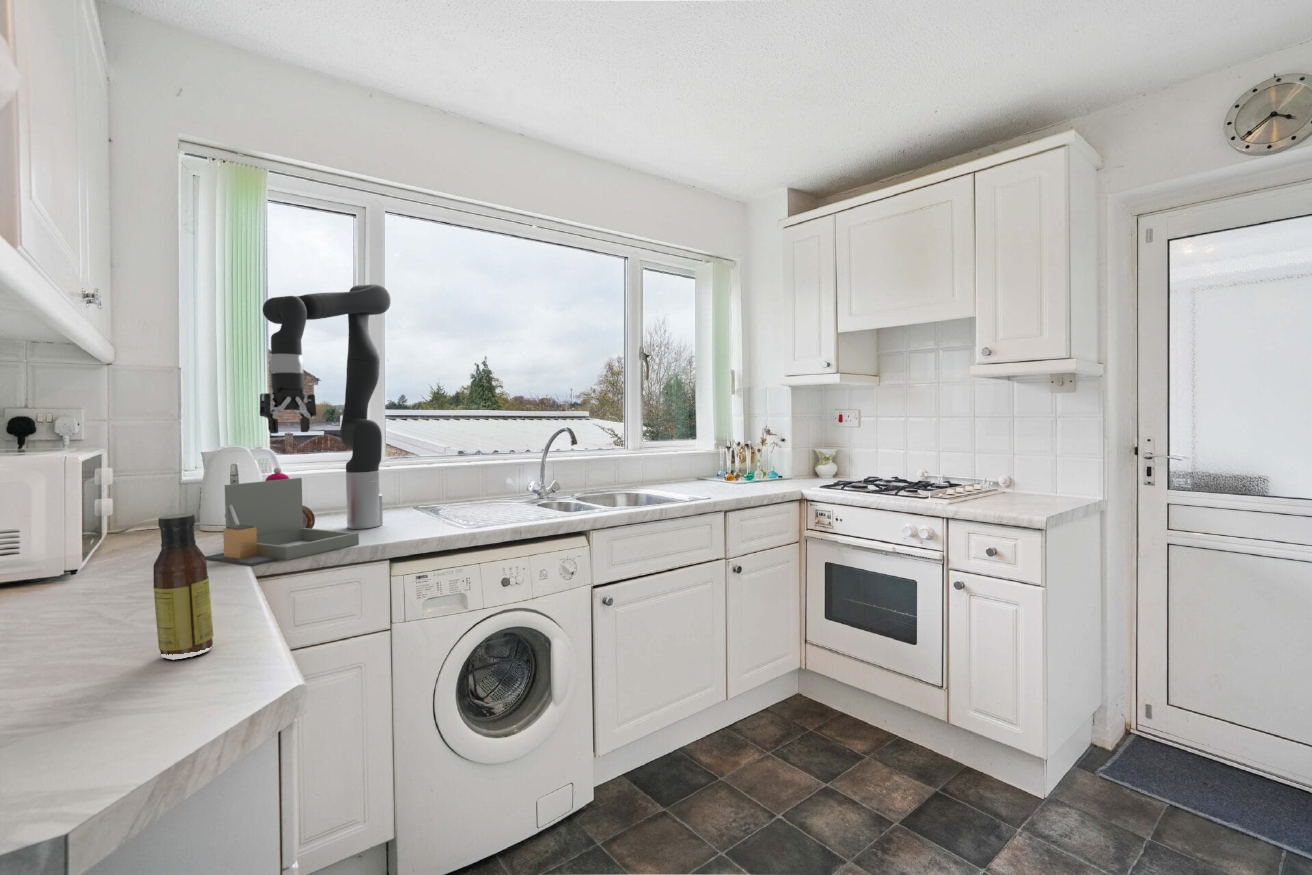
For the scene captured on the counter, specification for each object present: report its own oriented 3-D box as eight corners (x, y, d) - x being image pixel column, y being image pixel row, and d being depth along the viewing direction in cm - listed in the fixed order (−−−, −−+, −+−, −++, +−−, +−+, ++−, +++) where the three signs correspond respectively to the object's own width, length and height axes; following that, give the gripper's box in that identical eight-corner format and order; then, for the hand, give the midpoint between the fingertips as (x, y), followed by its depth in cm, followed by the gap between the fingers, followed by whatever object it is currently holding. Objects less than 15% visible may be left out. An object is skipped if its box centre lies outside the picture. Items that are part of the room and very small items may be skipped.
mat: (230, 553, 155) (230, 551, 155) (277, 560, 147) (277, 557, 147) (204, 559, 149) (203, 556, 149) (251, 565, 142) (251, 563, 142)
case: (301, 538, 175) (299, 477, 175) (358, 544, 165) (357, 480, 165) (226, 552, 157) (224, 485, 156) (286, 560, 147) (284, 488, 147)
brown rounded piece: (316, 533, 183) (315, 504, 183) (309, 535, 180) (308, 506, 180) (267, 533, 184) (266, 504, 184) (259, 535, 181) (258, 506, 181)
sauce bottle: (206, 642, 92) (201, 509, 92) (220, 652, 88) (215, 513, 88) (150, 656, 87) (145, 515, 87) (162, 667, 83) (157, 519, 83)
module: (241, 554, 151) (240, 524, 151) (257, 556, 149) (256, 525, 149) (224, 557, 148) (223, 526, 148) (240, 559, 145) (239, 528, 145)
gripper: (302, 374, 174) (305, 431, 175) (251, 371, 161) (254, 433, 162) (321, 372, 171) (323, 431, 171) (270, 370, 158) (272, 433, 158)
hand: (289, 432), depth 167 cm, fingers open, 8 cm apart
